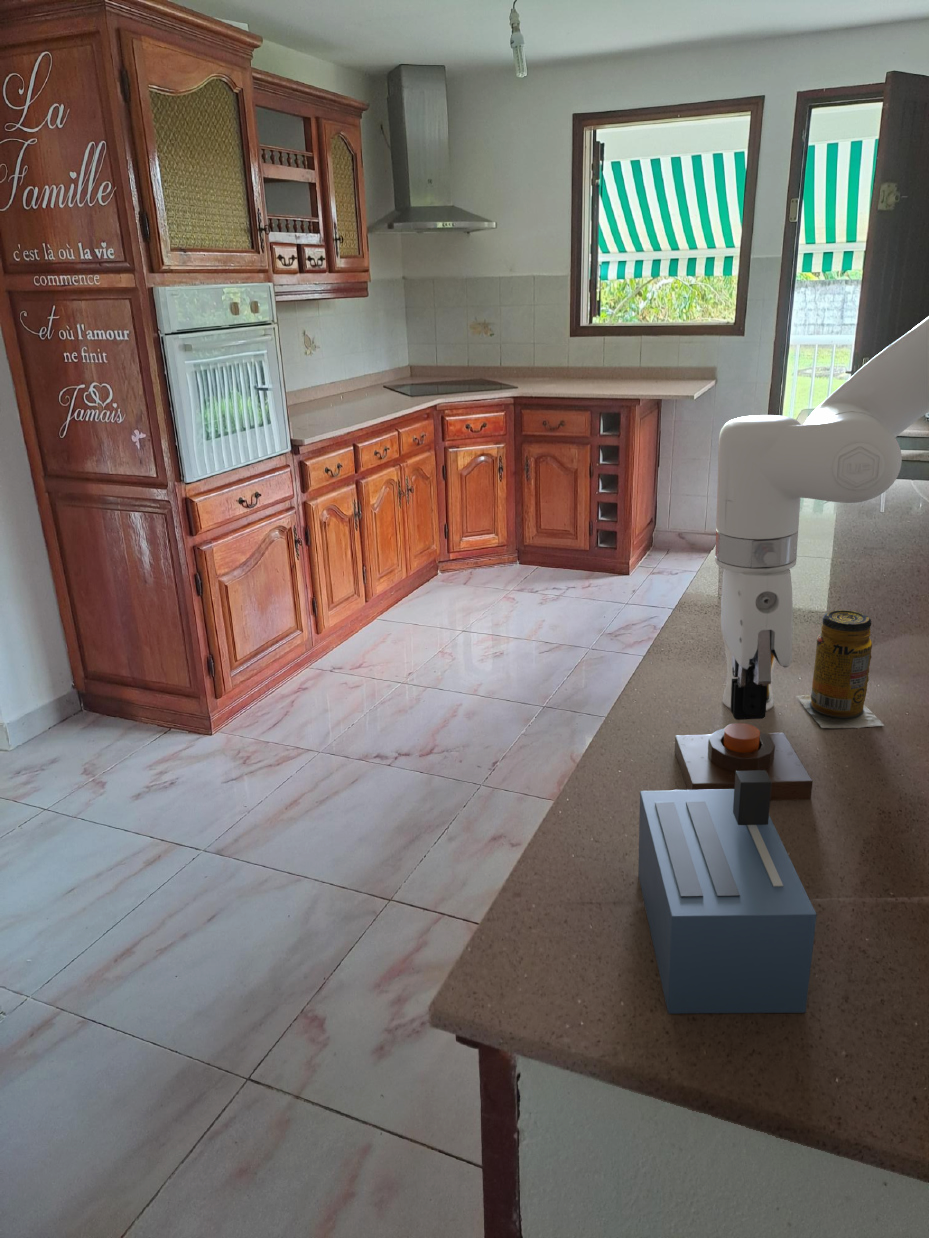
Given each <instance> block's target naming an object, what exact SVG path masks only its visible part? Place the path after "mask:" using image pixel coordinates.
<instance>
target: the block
mask: <svg viewBox="0 0 929 1238" xmlns="http://www.w3.org/2000/svg"><path fill="white" fill-rule="evenodd" d="M724 729H725V727H724V728H721V729H718V730H715V731H713V732H712V733H711V734H687V735H686V734H685V735H675V737H674V755H675V757H676V760H677V763H678V766H679V770H680V772H681V775H682V778H683V781H684V784H685V786H686V790H711V789H734V788H735V773H736V771H758V770H765V771H766V772H767V774H768V776H769V778H770V780H771V782H772V784H771V796H770V801H793V800H794V801H795V800H796V801H797V800H800V801H801V800H811V799H812V792H813V779H812V777H811V776H810V774H809V772H808V770H807V769H806V767H805V765H804V764H803V763H802V760H801V759H800V757H799V755H798V753H797V752H796V750H795V749H794V747H793V746H792V743H791V742H790V740H789V739H788V737H787V736H786V733H785V732H761V731H760V741H759V749H758V750H757V751H754V752H744V753H740V752H736V751H732V750H729V749H727V748H726V747H724Z"/></svg>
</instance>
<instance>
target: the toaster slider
mask: <svg viewBox="0 0 929 1238" xmlns="http://www.w3.org/2000/svg"><path fill="white" fill-rule="evenodd" d="M771 784H772V782H771V780H770V778H769V776H768V774H767V772H766V771H765V770H758V771H736V773H735V788H734V803H733V814H734V816H735V819H736V821H737V824H738V825H767V824H768V819H769V816H770V806H771V800H770V796H771Z"/></svg>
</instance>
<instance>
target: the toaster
mask: <svg viewBox="0 0 929 1238" xmlns="http://www.w3.org/2000/svg"><path fill="white" fill-rule="evenodd" d="M733 803H734V789H711V790H688V789H673V790H640V791H639V822H638V823H639V824H638V869H637V870H638V873H637V875H638V876H637V877H638V880H639V884H640V890H641V894H642V899H643V903H644V909H645V908H646V909H645V914H646V918H647V922H648V927H649V931H650V936H651V942H652V945H653V950H654V954H655V959H656V960H655V961H656V964H657V969H658V973H659V978H660V984H661V987H662V992H663V997H664V1001H665V1006H666V1010H667V1011H666V1012H667V1014H670V1015H672V1014H673V1015H674V1014H677V1015H679V1014H798V1013H799V1014H804V1013H806V1012H807V1003H808V996H809V995H808V994H809V986H810V977H811V968H812V959H813V949H814V941H815V933H816V925H817V917H818V916H817V913H816V910H815V908H814V906H813V904H812V902H811V899H810V898H809V895H808V894H807V891H806V889H805V887H804V884H803V883H802V881H801V879H800V877H799V875H798V872H797V870H796V868H795V866H794V864H793V862H792V860H791V857H790V856H789V854H788V852H787V849H786V847H785V845H784V843H783V841H782V839H781V836H780V835H779V833H778V830H777V829H776V827H775V825H774V822H773V820H772V818H771V815H769V819H768V824H767V825H738V824H737V821H736V819H735V816H734V814H733Z"/></svg>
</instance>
